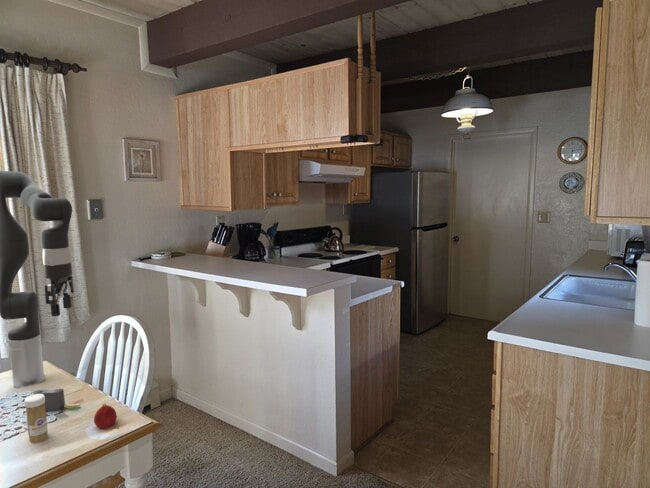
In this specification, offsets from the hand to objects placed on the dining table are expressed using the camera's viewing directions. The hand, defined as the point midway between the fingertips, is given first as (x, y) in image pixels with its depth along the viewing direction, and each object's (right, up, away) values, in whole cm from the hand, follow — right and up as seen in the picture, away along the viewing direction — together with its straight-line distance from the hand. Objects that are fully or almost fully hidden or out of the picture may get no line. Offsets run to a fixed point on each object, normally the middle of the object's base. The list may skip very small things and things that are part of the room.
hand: (62, 311), depth 137 cm
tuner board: (+2, -31, -4) cm, 31 cm away
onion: (+21, -32, -13) cm, 40 cm away
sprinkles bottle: (+5, -33, -19) cm, 39 cm away
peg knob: (+1, -29, -4) cm, 30 cm away
